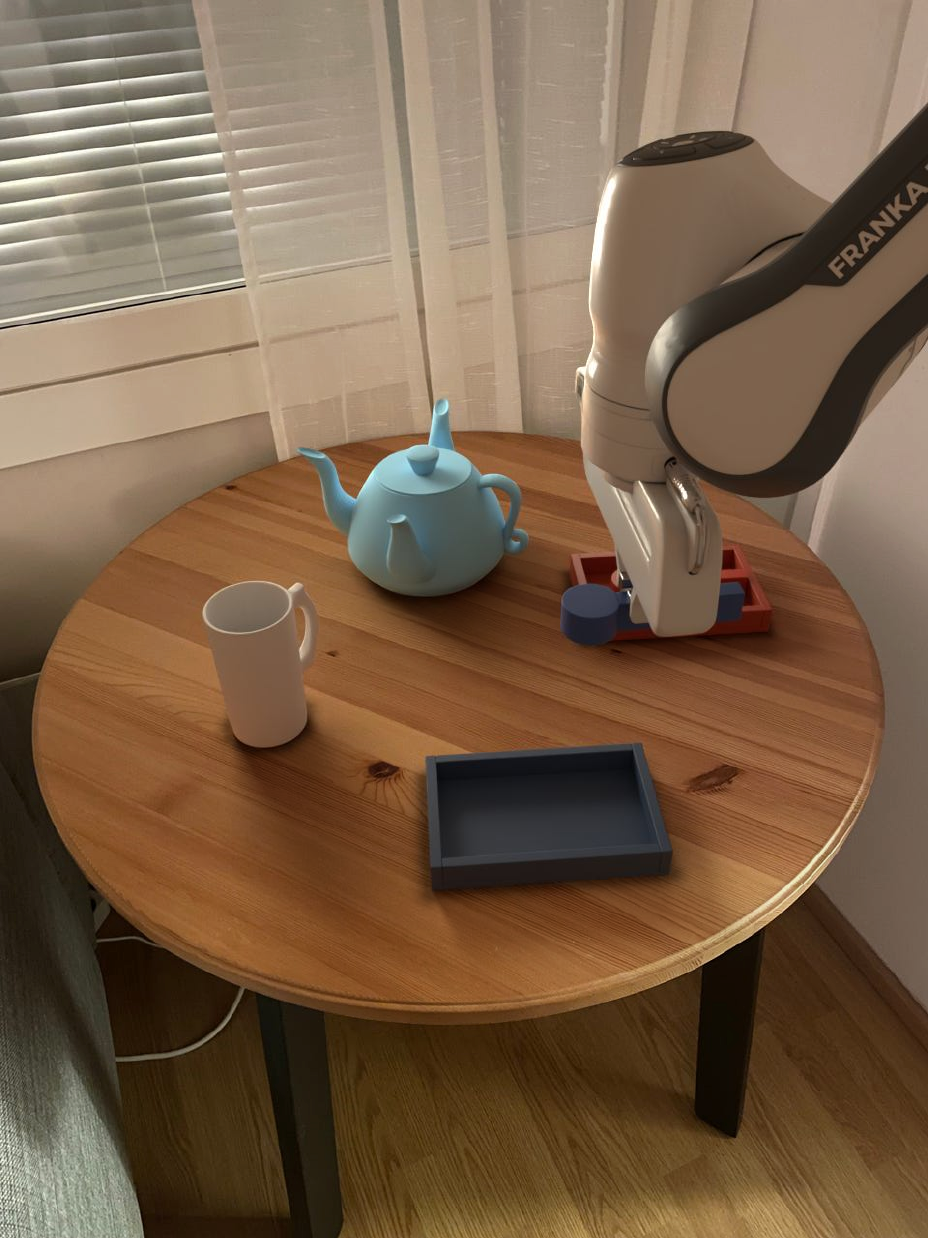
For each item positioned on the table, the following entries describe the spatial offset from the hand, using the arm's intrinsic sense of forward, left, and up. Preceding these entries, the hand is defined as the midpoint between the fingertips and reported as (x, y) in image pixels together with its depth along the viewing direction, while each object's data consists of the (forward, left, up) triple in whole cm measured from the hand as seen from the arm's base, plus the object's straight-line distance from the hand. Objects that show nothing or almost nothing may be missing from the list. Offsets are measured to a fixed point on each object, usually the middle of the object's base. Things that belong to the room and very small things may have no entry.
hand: (635, 604), depth 70 cm
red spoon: (-9, -20, -15) cm, 26 cm away
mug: (+27, -8, -16) cm, 32 cm away
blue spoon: (-1, 0, -2) cm, 2 cm away
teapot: (+15, -30, -16) cm, 37 cm away
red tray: (-8, -20, -15) cm, 26 cm away
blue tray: (+7, +6, -15) cm, 18 cm away
